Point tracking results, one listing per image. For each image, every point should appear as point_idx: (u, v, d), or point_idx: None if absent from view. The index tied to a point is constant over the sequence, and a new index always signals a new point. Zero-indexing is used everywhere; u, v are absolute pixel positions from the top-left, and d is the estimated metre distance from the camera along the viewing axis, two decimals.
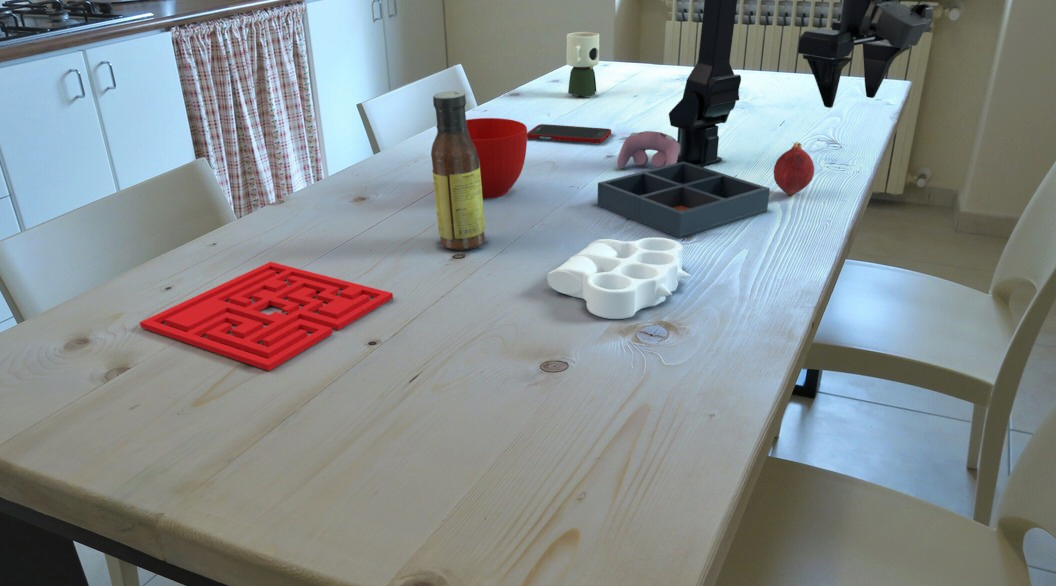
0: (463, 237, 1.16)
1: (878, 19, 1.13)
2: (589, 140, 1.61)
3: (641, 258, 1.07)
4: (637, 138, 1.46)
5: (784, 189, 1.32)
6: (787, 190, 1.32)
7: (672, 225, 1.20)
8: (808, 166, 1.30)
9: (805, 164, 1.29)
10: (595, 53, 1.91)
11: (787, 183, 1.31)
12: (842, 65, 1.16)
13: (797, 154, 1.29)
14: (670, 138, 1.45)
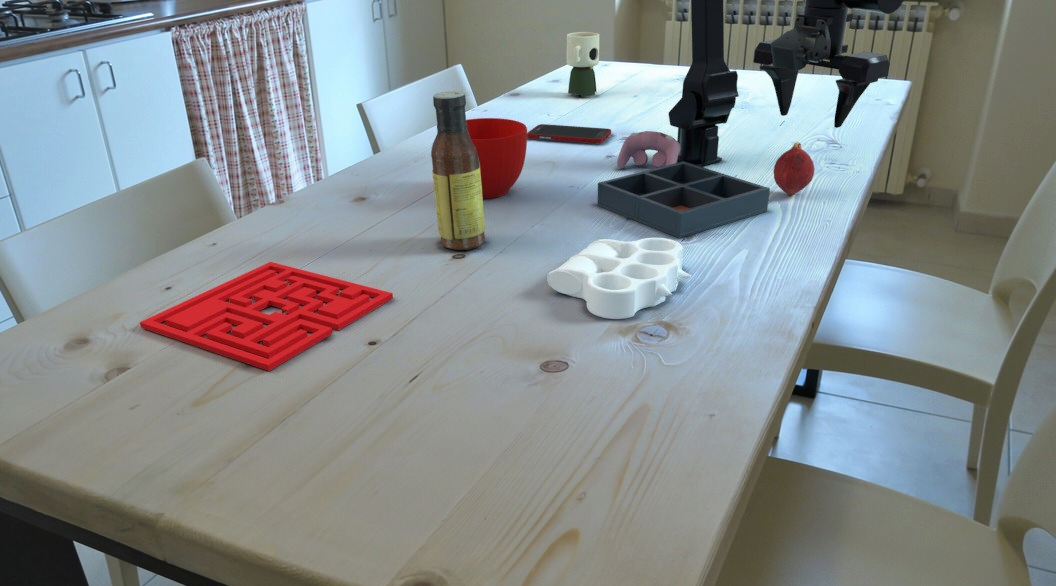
0: (463, 237, 1.16)
1: None
2: (589, 140, 1.61)
3: (641, 258, 1.07)
4: (637, 138, 1.46)
5: (784, 189, 1.32)
6: (787, 190, 1.32)
7: (672, 225, 1.20)
8: (808, 166, 1.30)
9: (805, 164, 1.29)
10: (595, 53, 1.91)
11: (787, 183, 1.31)
12: (773, 75, 1.28)
13: (797, 154, 1.29)
14: (670, 138, 1.45)
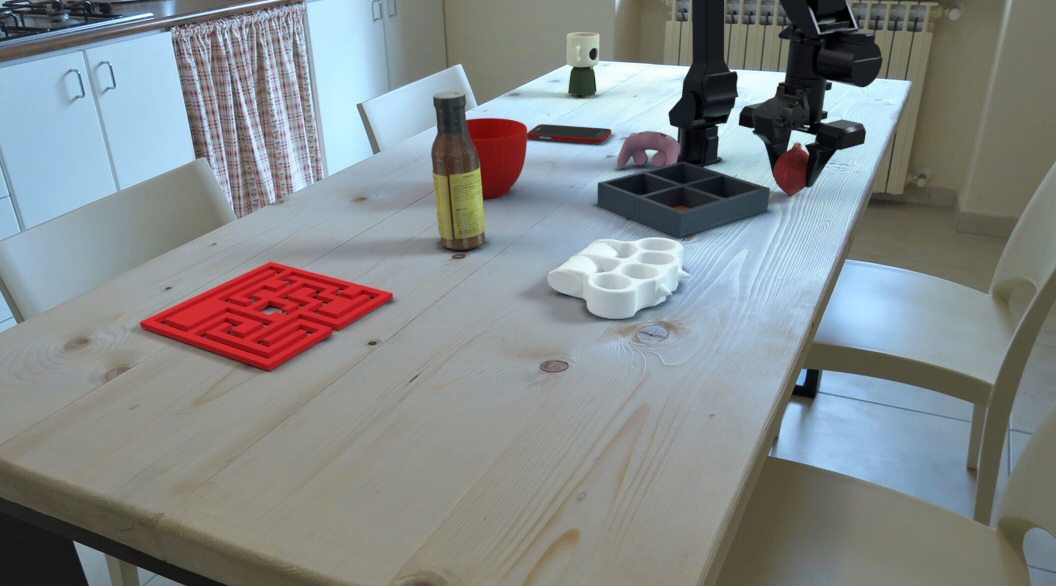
0: (463, 237, 1.16)
1: None
2: (589, 140, 1.61)
3: (641, 258, 1.07)
4: (637, 138, 1.46)
5: (784, 189, 1.32)
6: (787, 190, 1.32)
7: (672, 225, 1.20)
8: None
9: (805, 164, 1.29)
10: (595, 53, 1.91)
11: (787, 183, 1.31)
12: (765, 139, 1.32)
13: (797, 154, 1.29)
14: (670, 138, 1.45)
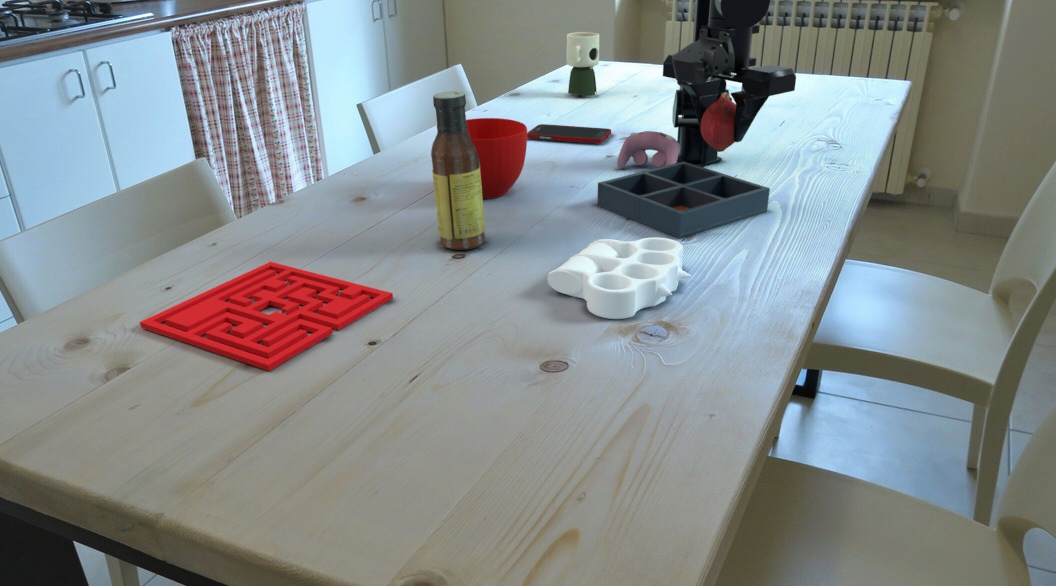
0: (463, 237, 1.16)
1: None
2: (589, 140, 1.61)
3: (641, 258, 1.07)
4: (637, 138, 1.46)
5: (712, 144, 1.21)
6: (715, 145, 1.21)
7: (672, 225, 1.20)
8: None
9: (733, 116, 1.18)
10: (595, 53, 1.91)
11: (714, 137, 1.20)
12: (690, 90, 1.21)
13: (724, 105, 1.18)
14: (670, 138, 1.45)
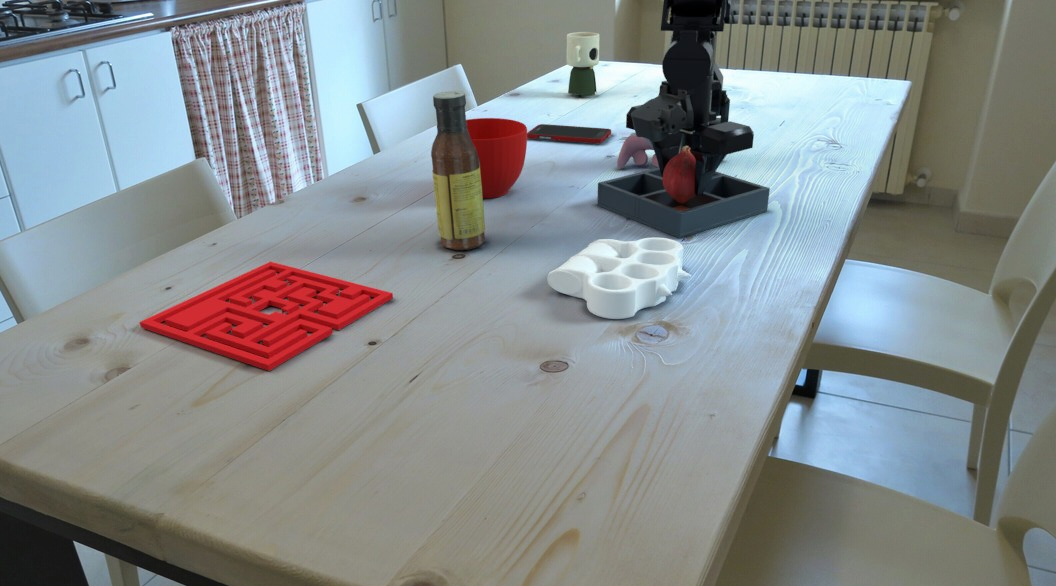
0: (463, 237, 1.16)
1: None
2: (589, 140, 1.61)
3: (641, 258, 1.07)
4: (637, 138, 1.46)
5: (673, 197, 1.22)
6: (676, 198, 1.22)
7: (672, 225, 1.20)
8: None
9: (694, 170, 1.19)
10: (595, 53, 1.91)
11: (675, 190, 1.20)
12: (652, 143, 1.22)
13: (685, 159, 1.19)
14: None
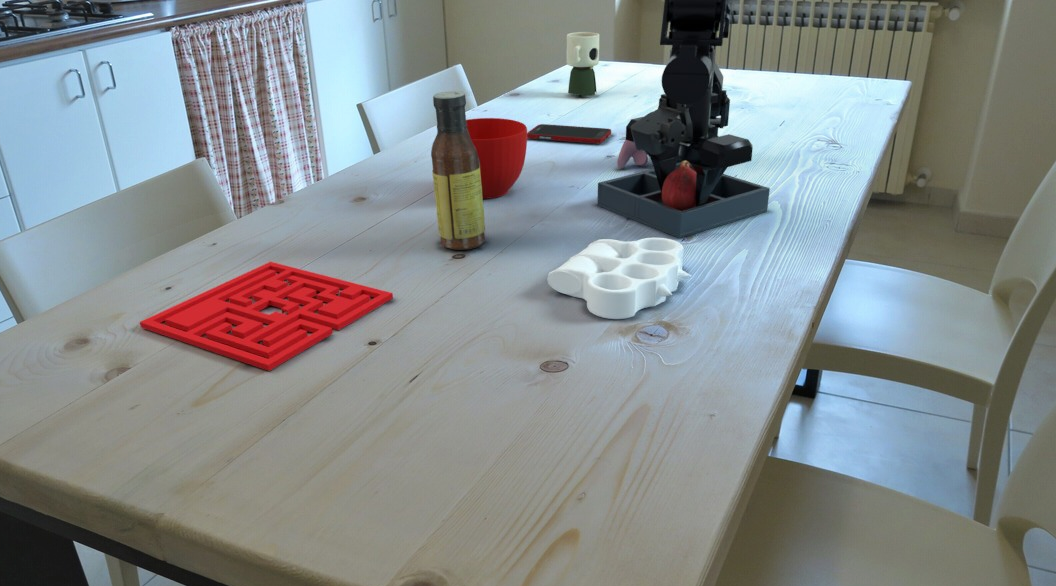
0: (463, 237, 1.16)
1: None
2: (589, 140, 1.61)
3: (641, 258, 1.07)
4: None
5: None
6: None
7: (672, 225, 1.20)
8: None
9: (693, 185, 1.20)
10: (595, 53, 1.91)
11: (674, 205, 1.21)
12: (650, 155, 1.23)
13: (684, 173, 1.20)
14: None
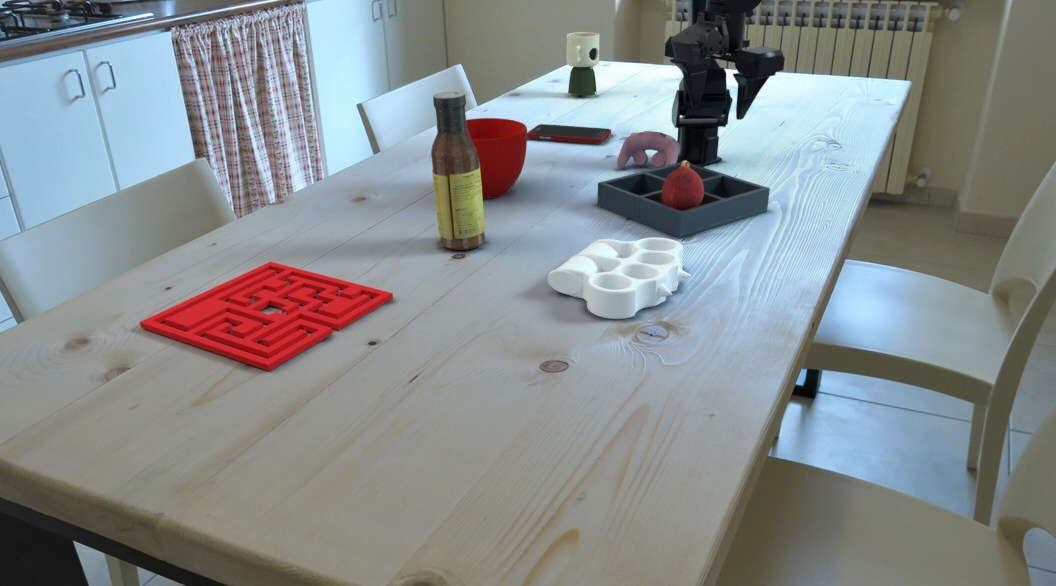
0: (463, 237, 1.16)
1: None
2: (589, 140, 1.61)
3: (641, 258, 1.07)
4: (637, 138, 1.46)
5: None
6: None
7: (672, 225, 1.20)
8: (696, 187, 1.20)
9: (693, 185, 1.20)
10: (595, 53, 1.91)
11: (674, 205, 1.21)
12: (682, 68, 1.33)
13: (684, 173, 1.20)
14: (670, 138, 1.45)
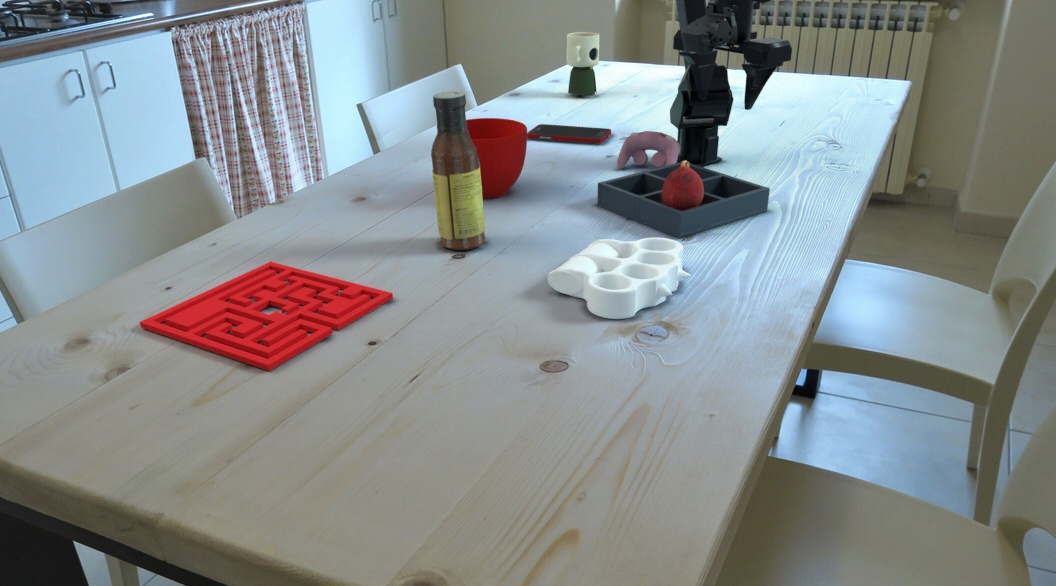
0: (463, 237, 1.16)
1: None
2: (589, 140, 1.61)
3: (642, 258, 1.07)
4: (637, 138, 1.46)
5: None
6: None
7: (672, 225, 1.20)
8: (696, 187, 1.20)
9: (693, 185, 1.20)
10: (595, 53, 1.91)
11: (674, 205, 1.21)
12: (690, 60, 1.36)
13: (684, 173, 1.20)
14: (670, 138, 1.45)
